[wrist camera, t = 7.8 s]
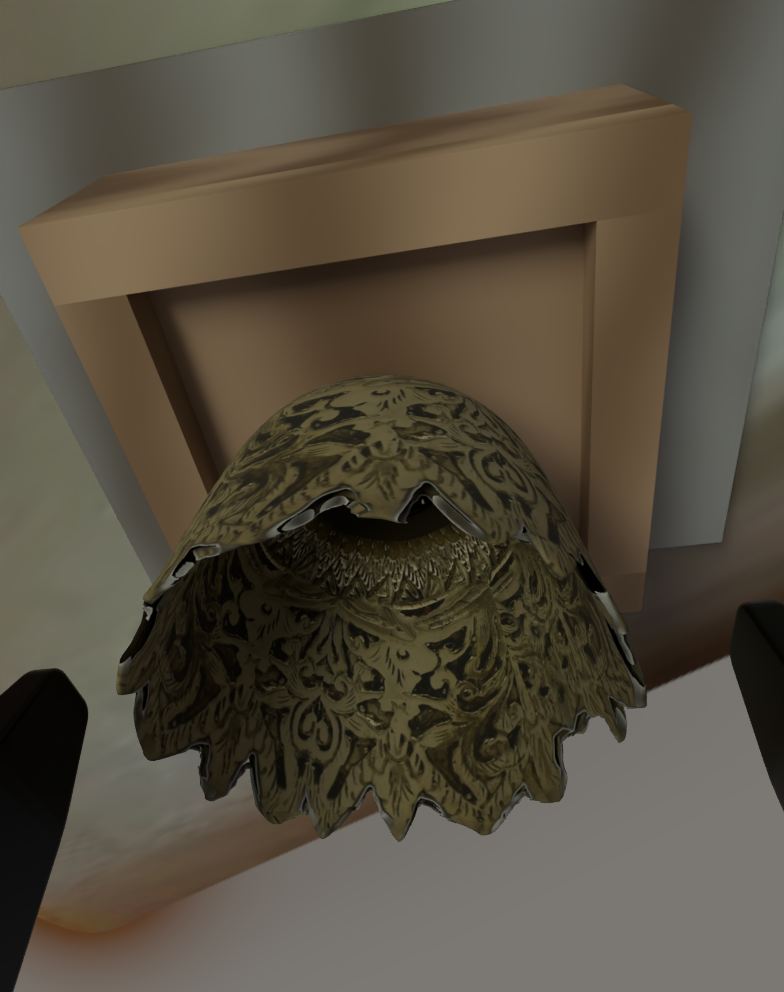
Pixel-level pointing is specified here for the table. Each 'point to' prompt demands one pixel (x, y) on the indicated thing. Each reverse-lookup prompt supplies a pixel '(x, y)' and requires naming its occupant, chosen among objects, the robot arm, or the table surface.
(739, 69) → the wooden square tray
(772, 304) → the table surface
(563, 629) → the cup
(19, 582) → the table surface
